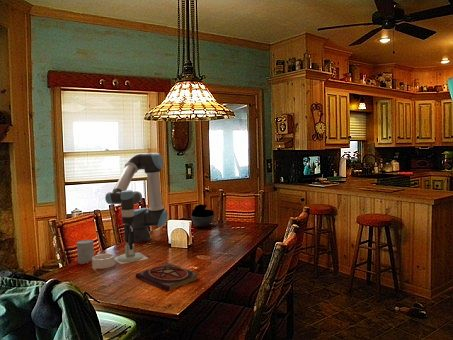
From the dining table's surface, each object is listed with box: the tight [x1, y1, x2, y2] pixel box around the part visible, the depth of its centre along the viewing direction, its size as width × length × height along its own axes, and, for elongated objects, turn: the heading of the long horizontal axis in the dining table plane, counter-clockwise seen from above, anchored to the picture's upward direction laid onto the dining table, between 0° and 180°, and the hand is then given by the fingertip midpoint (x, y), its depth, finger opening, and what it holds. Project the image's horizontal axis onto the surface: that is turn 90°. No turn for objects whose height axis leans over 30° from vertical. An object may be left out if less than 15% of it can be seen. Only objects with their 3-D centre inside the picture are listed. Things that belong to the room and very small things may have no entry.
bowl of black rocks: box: [190, 204, 216, 228], centre depth 313 cm, size 20×20×19 cm
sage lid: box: [118, 243, 144, 263], centre depth 226 cm, size 15×15×8 cm
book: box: [135, 262, 201, 292], centre depth 191 cm, size 28×21×5 cm
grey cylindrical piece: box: [76, 239, 95, 265], centre depth 226 cm, size 10×10×12 cm
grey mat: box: [115, 251, 149, 265], centre depth 227 cm, size 17×17×1 cm
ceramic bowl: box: [91, 253, 116, 271], centre depth 214 cm, size 12×12×6 cm
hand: (130, 253), depth 226 cm, fingers closed on sage lid, 3 cm apart
